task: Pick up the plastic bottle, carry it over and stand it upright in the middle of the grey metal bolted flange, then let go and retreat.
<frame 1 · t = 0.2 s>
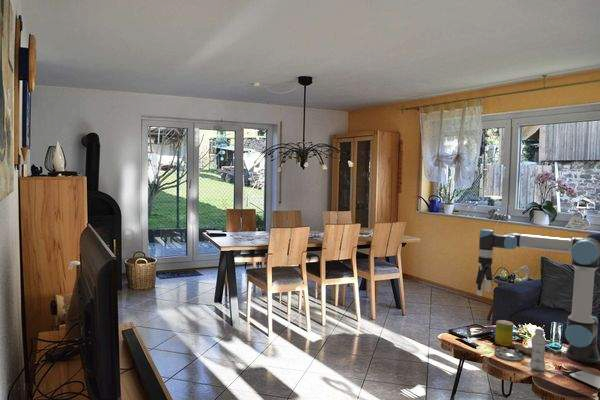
hand: (483, 293, 269), 28 cm above the table, fingers open, 13 cm apart
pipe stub: (525, 354, 252), on the table
plastic bottle: (537, 370, 232), on the table
yellow cylinder: (503, 343, 268), on the table
flange: (508, 355, 249), on the table
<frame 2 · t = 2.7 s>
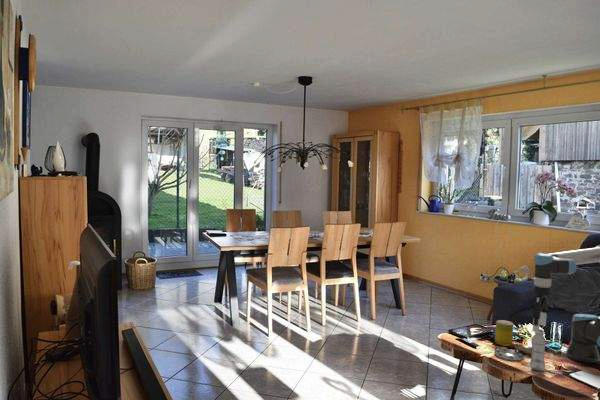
hand: (539, 328, 231), 21 cm above the table, fingers open, 13 cm apart
nothing on the table moved.
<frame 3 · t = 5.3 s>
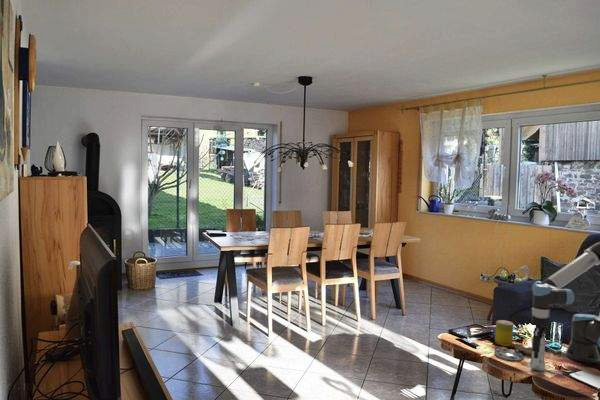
hand: (537, 362, 232), 4 cm above the table, fingers closed on plastic bottle, 6 cm apart
plastic bottle: (537, 370, 232), on the table, touching gripper
everything else where it was.
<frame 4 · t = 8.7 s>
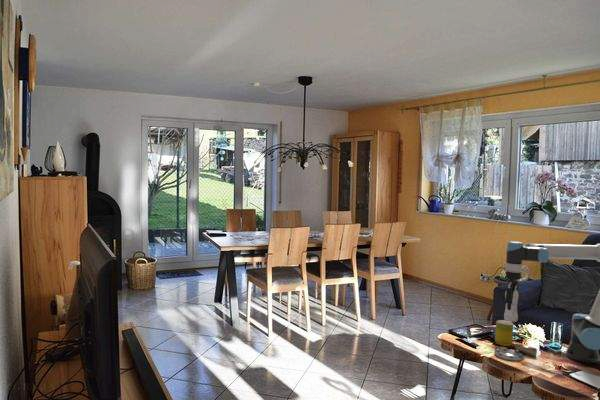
hand: (510, 314, 248), 23 cm above the table, fingers closed on plastic bottle, 6 cm apart
plastic bottle: (510, 321, 248), point 18 cm above the table, touching gripper
everything else where it was.
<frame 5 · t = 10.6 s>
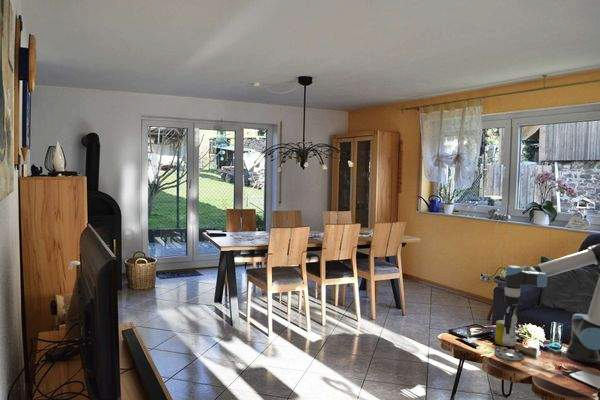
hand: (509, 338, 249), 10 cm above the table, fingers closed on plastic bottle, 6 cm apart
plastic bottle: (508, 345, 249), point 6 cm above the table, touching gripper
everything else where it was.
when the fingers open (6 cm above the table, at t = 12.3 s): plastic bottle stays where it is, resting on flange.
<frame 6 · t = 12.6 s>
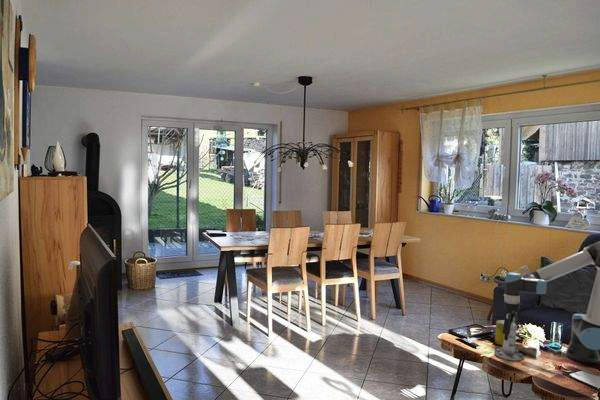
hand: (509, 343, 249), 7 cm above the table, fingers open, 10 cm apart
plastic bottle: (508, 353, 249), point 1 cm above the table, touching flange
everything else where it was.
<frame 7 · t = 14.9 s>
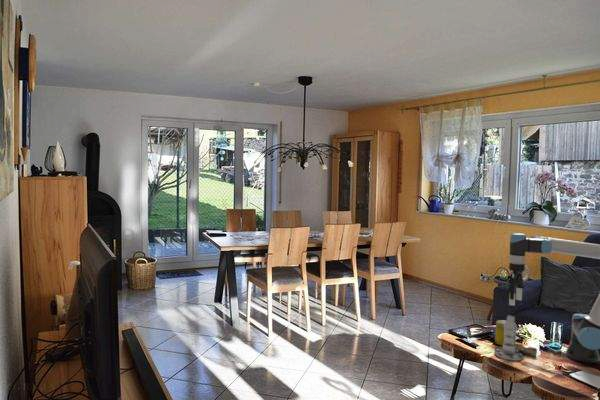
hand: (515, 302, 248), 29 cm above the table, fingers open, 13 cm apart
nothing on the table moved.
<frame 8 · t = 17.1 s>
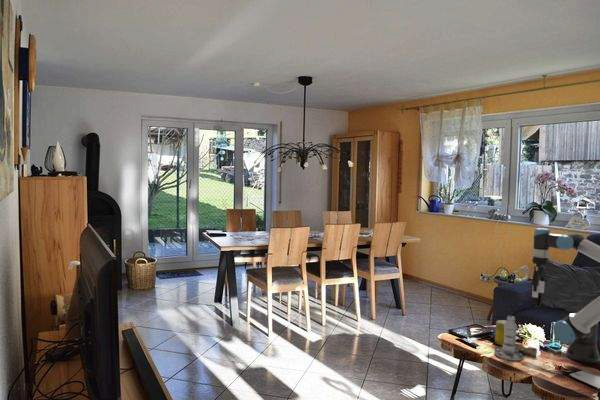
hand: (538, 294, 257), 31 cm above the table, fingers open, 13 cm apart
nothing on the table moved.
at the end: plastic bottle 0.1 cm from the flange (horizontally); plastic bottle tilted 0°; the gripper is holding nothing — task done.
